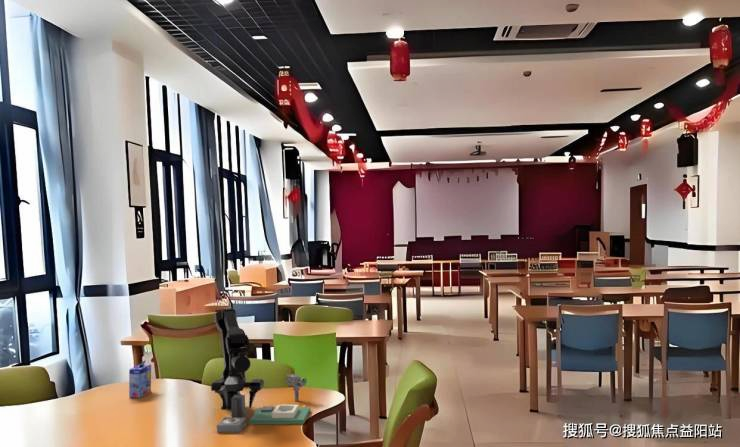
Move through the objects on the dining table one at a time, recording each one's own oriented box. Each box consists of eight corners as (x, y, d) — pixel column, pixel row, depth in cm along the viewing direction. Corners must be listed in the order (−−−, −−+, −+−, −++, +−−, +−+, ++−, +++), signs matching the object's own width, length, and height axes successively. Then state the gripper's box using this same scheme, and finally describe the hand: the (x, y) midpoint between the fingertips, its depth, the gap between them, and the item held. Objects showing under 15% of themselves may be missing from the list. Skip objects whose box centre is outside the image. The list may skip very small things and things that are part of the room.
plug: (230, 420, 205) (230, 399, 205) (235, 416, 210) (234, 394, 210) (241, 420, 205) (240, 398, 205) (245, 415, 210) (244, 394, 210)
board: (248, 424, 200) (248, 414, 200) (259, 411, 214) (259, 402, 214) (303, 424, 199) (303, 414, 199) (310, 411, 213) (310, 402, 213)
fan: (217, 432, 193) (216, 424, 193) (224, 424, 201) (224, 416, 201) (239, 432, 193) (239, 424, 193) (246, 424, 201) (246, 416, 201)
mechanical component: (303, 403, 222) (302, 378, 222) (285, 399, 228) (284, 375, 229) (308, 401, 225) (307, 377, 225) (290, 397, 231) (289, 373, 231)
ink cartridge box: (141, 398, 236) (140, 364, 236) (128, 398, 237) (127, 364, 237) (152, 391, 246) (151, 358, 246) (140, 391, 247) (139, 358, 247)
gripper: (205, 372, 201) (206, 415, 201) (255, 371, 199) (256, 415, 199) (215, 364, 212) (216, 405, 212) (263, 363, 210) (264, 405, 210)
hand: (238, 407), depth 208 cm, fingers open, 9 cm apart
